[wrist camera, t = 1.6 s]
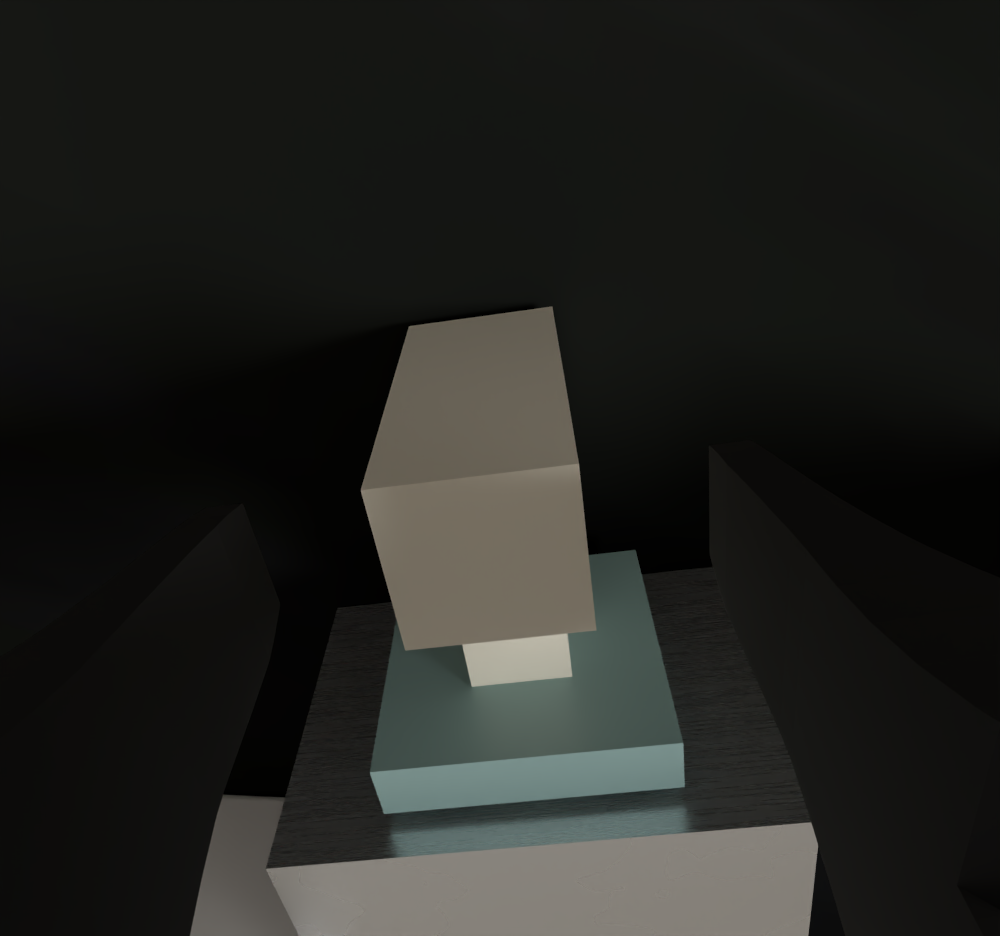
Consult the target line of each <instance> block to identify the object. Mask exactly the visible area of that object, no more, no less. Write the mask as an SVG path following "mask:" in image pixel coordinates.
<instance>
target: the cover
mask: <svg viewBox="0 0 1000 936" xmlns="http://www.w3.org/2000/svg"><path fill="white" fill-rule="evenodd" d="M361 494H362V497H363V501H364V504H365V508H366V512H367V515H368V519H369V522H370V526H371V530H372V533H373V537H374V540H375V544H376V548H377V551H378V555H379V558H380V562H381V565H382V569H383V573H384V576H385V580H386V583H387V587H388V591H389V594H390V598H391V601H392V605H393V609H394V612H395V616H396V623H395V629H394V635H393V641H392V646H391V652H390V658H389V664H388V669H387V675H386V681H385V687H384V692H383V698H382V704H381V710H380V715H379V721H378V727H377V733H376V738H375V744H374V750H373V755H372V761H371V767H370V775H371V778H372V781H373V784H374V787H375V789H376V792H377V795H378V798H379V801H380V804H381V807H382V809H383V812H384V814H391V813H402V812H413V811H424V810H435V809H447V808H458V807H469V806H480V805H491V804H502V803H513V802H525V801H536V800H547V799H558V798H569V797H580V796H592V795H603V794H614V793H625V792H636V791H647V790H659V789H670V788H681V787H685V777H684V747H683V739H682V735H681V731H680V727H679V723H678V719H677V715H676V711H675V707H674V703H673V699H672V695H671V691H670V687H669V683H668V679H667V675H666V671H665V667H664V663H663V659H662V655H661V651H660V647H659V643H658V639H657V634H656V630H655V626H654V622H653V618H652V614H651V610H650V606H649V602H648V598H647V594H646V590H645V586H644V582H643V578H642V574H641V570H640V566H639V562H638V558H637V554H636V550H630V551H621V552H612V553H604V554H595V555H588V545H587V536H586V526H585V517H584V507H583V498H582V489H581V479H580V470H579V462H578V456H577V450H576V444H575V438H574V432H573V426H572V420H571V414H570V409H569V403H568V397H567V391H566V385H565V379H564V373H563V367H562V361H561V356H560V350H559V344H558V338H557V332H556V326H555V320H554V314H553V308H552V307H545V308H538V309H531V310H523V311H516V312H509V313H502V314H494V315H487V316H480V317H472V318H465V319H458V320H451V321H443V322H436V323H429V324H421V325H414V326H409V328H408V331H407V335H406V338H405V342H404V345H403V348H402V352H401V355H400V358H399V362H398V365H397V369H396V372H395V375H394V379H393V382H392V386H391V389H390V392H389V396H388V399H387V402H386V406H385V409H384V413H383V416H382V419H381V423H380V426H379V430H378V433H377V436H376V440H375V443H374V447H373V450H372V453H371V457H370V460H369V463H368V467H367V470H366V474H365V477H364V480H363V484H362V487H361Z"/></svg>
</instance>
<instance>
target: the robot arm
mask: <svg viewBox="0 0 1000 936" xmlns="http://www.w3.org/2000/svg"><path fill="white" fill-rule="evenodd" d="M709 552H710V558H711V562H712V565H713V569H714V572H715V576H716V579H717V583H718V587H719V590H720V593H721V596H722V600H723V603H724V606H725V610H726V612H727V614H728V617H729V619H730V621H731V624H732V626H733V628H734V631H735V633H736V635H737V637H738V640H739V642H740V644H741V647H742V649H743V651H744V653H745V656H746V658H747V660H748V662H749V665H750V667H751V669H752V671H753V674H754V676H755V678H756V680H757V682H758V685H759V687H760V689H761V691H762V694H763V696H764V698H765V700H766V703H767V705H768V707H769V709H770V712H771V714H772V716H773V718H774V720H775V723H776V725H777V727H778V729H779V732H780V734H781V737H782V739H783V742H784V744H785V747H786V749H787V752H788V754H789V757H790V759H791V762H792V765H793V768H794V771H795V774H796V777H797V780H798V784H799V787H800V790H801V793H802V796H803V799H804V802H805V805H806V808H807V811H808V814H809V817H810V820H811V824H812V827H813V830H814V833H815V836H816V840H817V843H818V846H819V849H820V853H821V856H822V859H823V862H824V866H825V869H826V872H827V875H828V879H829V882H830V885H831V888H832V892H833V895H834V898H835V902H836V905H837V909H838V912H839V915H840V919H841V922H842V926H843V929H844V933H845V936H1000V577H997V576H995V575H992V574H990V573H987V572H985V571H982V570H980V569H978V568H975V567H973V566H970V565H968V564H966V563H964V562H962V561H959V560H957V559H955V558H953V557H950V556H948V555H946V554H944V553H942V552H939V551H937V550H935V549H933V548H930V547H928V546H926V545H924V544H922V543H920V542H918V541H916V540H914V539H912V538H910V537H908V536H906V535H904V534H902V533H900V532H898V531H897V530H895V529H893V528H891V527H889V526H888V525H886V524H884V523H882V522H880V521H878V520H877V519H875V518H873V517H871V516H869V515H867V514H866V513H864V512H862V511H861V510H859V509H857V508H855V507H854V506H852V505H850V504H849V503H847V502H845V501H844V500H842V499H840V498H839V497H837V496H836V495H834V494H832V493H831V492H829V491H828V490H826V489H825V488H823V487H821V486H820V485H818V484H817V483H815V482H814V481H812V480H811V479H809V478H808V477H806V476H805V475H803V474H802V473H800V472H799V471H797V470H796V469H794V468H793V467H791V466H790V465H788V464H787V463H785V462H784V461H782V460H781V459H779V458H778V457H776V456H775V455H773V454H772V453H770V452H769V451H767V450H766V449H764V448H763V447H761V446H760V445H758V444H756V443H755V442H753V441H751V440H746V441H738V442H730V443H722V444H714V445H709ZM279 609H280V601H279V599H278V596H277V593H276V591H275V588H274V585H273V583H272V580H271V577H270V575H269V572H268V569H267V567H266V564H265V561H264V559H263V556H262V553H261V551H260V548H259V546H258V543H257V540H256V538H255V535H254V532H253V530H252V527H251V524H250V522H249V519H248V516H247V514H246V511H245V508H244V506H243V503H241V504H233V505H225V506H217V507H209V508H204V509H203V510H201V511H199V512H198V513H196V514H195V515H193V516H192V517H190V518H189V519H187V520H186V521H185V522H183V523H182V524H181V525H179V526H178V527H177V528H175V529H174V530H173V531H171V532H170V533H169V534H167V535H166V536H165V537H164V538H162V539H161V540H160V541H158V542H157V543H156V544H155V545H153V546H152V547H151V548H150V549H148V550H147V551H146V552H144V553H143V554H142V555H141V556H139V557H138V558H137V559H136V560H134V561H133V562H132V563H130V564H129V565H128V566H127V567H125V568H124V569H123V570H122V571H120V572H119V573H118V574H116V575H115V576H114V577H113V578H111V579H110V580H109V581H108V582H106V583H105V584H104V585H102V586H101V587H100V588H98V589H97V590H96V591H94V592H93V593H91V594H90V595H89V596H87V597H86V598H85V599H83V600H82V601H81V602H79V603H78V604H76V605H75V606H74V607H72V608H71V609H70V610H68V611H67V612H66V613H64V614H63V615H61V616H60V617H59V618H57V619H56V620H55V621H53V622H52V623H50V624H49V625H48V626H46V627H45V628H44V629H42V630H41V631H39V632H38V633H36V634H35V635H33V636H32V637H30V638H29V639H27V640H26V641H24V642H23V643H21V644H20V645H18V646H17V647H15V648H14V649H12V650H11V651H9V652H7V653H6V654H4V655H3V656H1V657H0V936H190V933H191V928H192V923H193V918H194V914H195V909H196V904H197V899H198V894H199V889H200V885H201V880H202V876H203V871H204V867H205V863H206V859H207V854H208V850H209V846H210V842H211V837H212V833H213V829H214V825H215V821H216V817H217V813H218V810H219V807H220V803H221V800H222V797H223V794H224V790H225V787H226V784H227V781H228V779H229V776H230V773H231V770H232V767H233V764H234V762H235V759H236V756H237V753H238V750H239V748H240V745H241V742H242V739H243V736H244V733H245V731H246V728H247V725H248V722H249V719H250V717H251V714H252V711H253V708H254V705H255V702H256V699H257V697H258V694H259V691H260V688H261V685H262V682H263V679H264V676H265V673H266V670H267V667H268V664H269V661H270V657H271V652H272V647H273V642H274V638H275V632H276V627H277V621H278V615H279Z"/></svg>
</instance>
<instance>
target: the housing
mask: <svg viewBox="0 0 1000 936" xmlns="http://www.w3.org/2000/svg"><path fill="white" fill-rule="evenodd" d="M642 578H643V582H644V586H645V590H646V594H647V598H648V602H649V606H650V610H651V614H652V618H653V622H654V626H655V630H656V634H657V639H658V643H659V647H660V651H661V655H662V659H663V663H664V667H665V671H666V675H667V679H668V683H669V687H670V691H671V695H672V699H673V703H674V707H675V711H676V715H677V719H678V723H679V727H680V731H681V735H682V739H683V747H684V777H685V787H681V788H670V789H659V790H647V791H636V792H625V793H614V794H603V795H592V796H580V797H569V798H558V799H547V800H536V801H525V802H513V803H502V804H491V805H480V806H469V807H458V808H447V809H435V810H424V811H413V812H402V813H391V814H384V812H383V809H382V807H381V804H380V801H379V798H378V795H377V792H376V789H375V787H374V784H373V781H372V778H371V775H370V767H371V761H372V755H373V750H374V744H375V738H376V733H377V727H378V721H379V715H380V710H381V704H382V698H383V692H384V687H385V681H386V675H387V669H388V664H389V658H390V652H391V646H392V641H393V635H394V629H395V623H396V616H395V612H394V609H393V605H392V602H388V603H379V604H370V605H361V606H352V607H343V608H337V612H336V615H335V619H334V622H333V626H332V630H331V633H330V637H329V641H328V644H327V648H326V652H325V655H324V659H323V662H322V666H321V670H320V673H319V677H318V681H317V684H316V688H315V691H314V695H313V699H312V702H311V706H310V710H309V713H308V717H307V720H306V724H305V728H304V731H303V735H302V739H301V742H300V746H299V749H298V753H297V757H296V760H295V764H294V768H293V771H292V775H291V778H290V782H289V786H288V789H287V793H286V797H285V800H284V804H283V808H282V811H281V815H280V818H279V822H278V826H277V829H276V833H275V837H274V840H273V844H272V847H271V851H270V855H269V858H268V862H267V866H266V871H267V873H268V875H269V877H270V879H271V881H272V883H273V885H274V887H275V889H276V891H277V893H278V895H279V897H280V899H281V901H282V903H283V905H284V907H285V909H286V911H287V913H288V915H289V917H290V919H291V921H292V923H293V925H294V927H295V929H296V931H297V933H298V935H299V936H808V933H809V923H810V914H811V905H812V896H813V887H814V877H815V868H816V859H817V850H818V843H817V840H816V836H815V833H814V830H813V827H812V824H811V820H810V817H809V814H808V811H807V808H806V805H805V802H804V799H803V796H802V793H801V790H800V787H799V784H798V780H797V777H796V774H795V771H794V768H793V765H792V762H791V759H790V757H789V754H788V752H787V749H786V747H785V744H784V742H783V739H782V737H781V734H780V732H779V729H778V727H777V725H776V723H775V720H774V718H773V716H772V714H771V712H770V709H769V707H768V705H767V703H766V700H765V698H764V696H763V694H762V691H761V689H760V687H759V685H758V682H757V680H756V678H755V676H754V674H753V671H752V669H751V667H750V665H749V662H748V660H747V658H746V656H745V653H744V651H743V649H742V647H741V644H740V642H739V640H738V637H737V635H736V633H735V631H734V628H733V626H732V624H731V621H730V619H729V617H728V614H727V612H726V610H725V606H724V603H723V600H722V596H721V593H720V590H719V587H718V583H717V579H716V576H715V572H714V569H713V567H705V568H696V569H687V570H678V571H669V572H660V573H651V574H642Z"/></svg>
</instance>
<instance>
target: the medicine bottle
mask: <svg viewBox="0 0 1000 936" xmlns="http://www.w3.org/2000/svg"><path fill="white" fill-rule="evenodd" d="M284 800H285V797H265V796H244V795H224V794H223V797H222V800H221V803H220V807H219V810H218V813H217V817H216V821H215V825H214V829H213V833H212V837H211V842H210V846H209V850H208V854H207V859H206V863H205V867H204V871H203V876H202V880H201V885H200V889H199V894H198V899H197V904H196V909H195V914H194V918H193V923H192V928H191V933H190V936H299V935H298V933H297V931H296V929H295V927H294V925H293V923H292V921H291V919H290V917H289V915H288V913H287V911H286V909H285V907H284V905H283V903H282V901H281V899H280V897H279V895H278V893H277V891H276V889H275V887H274V885H273V883H272V881H271V879H270V877H269V875H268V873H267V871H266V866H267V862H268V858H269V855H270V851H271V847H272V844H273V840H274V837H275V833H276V829H277V826H278V822H279V818H280V815H281V811H282V808H283V804H284Z"/></svg>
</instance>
